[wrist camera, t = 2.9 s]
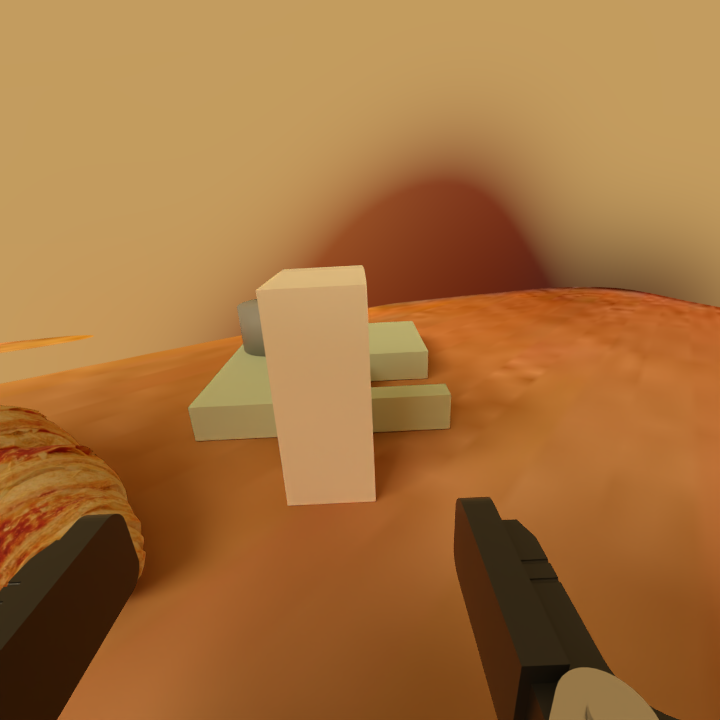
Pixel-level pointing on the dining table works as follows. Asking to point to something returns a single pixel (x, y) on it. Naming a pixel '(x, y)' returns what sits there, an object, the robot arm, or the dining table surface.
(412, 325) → the deck
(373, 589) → the dining table surface
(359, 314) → the beige bar
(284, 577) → the dining table surface
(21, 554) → the croissant
